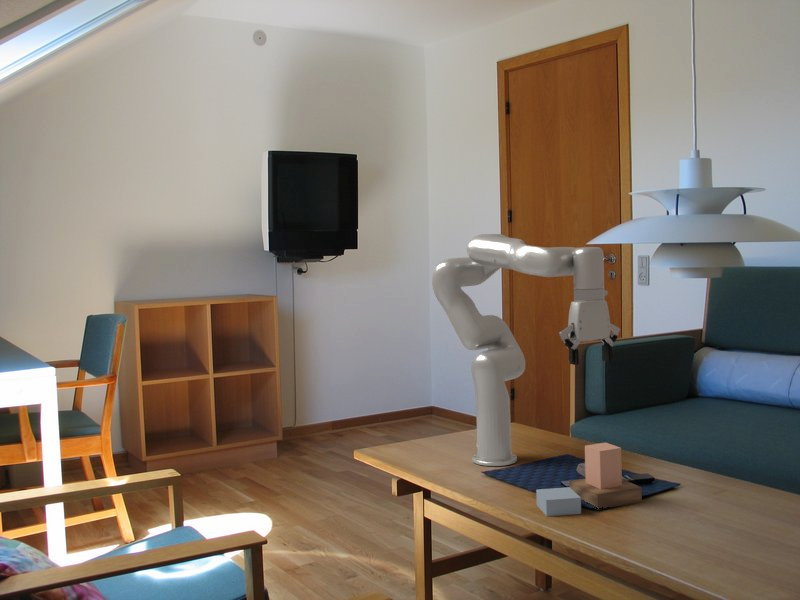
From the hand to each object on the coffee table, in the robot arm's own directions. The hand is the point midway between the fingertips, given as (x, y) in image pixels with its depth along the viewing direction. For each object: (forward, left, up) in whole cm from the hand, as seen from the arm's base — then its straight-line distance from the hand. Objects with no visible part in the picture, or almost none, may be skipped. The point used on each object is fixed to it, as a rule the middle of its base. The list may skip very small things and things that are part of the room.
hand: (590, 362), depth 205 cm
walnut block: (+14, -6, -31) cm, 34 cm away
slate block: (+16, -20, -31) cm, 40 cm away
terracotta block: (+14, -6, -27) cm, 31 cm away
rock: (-3, +3, -31) cm, 31 cm away
